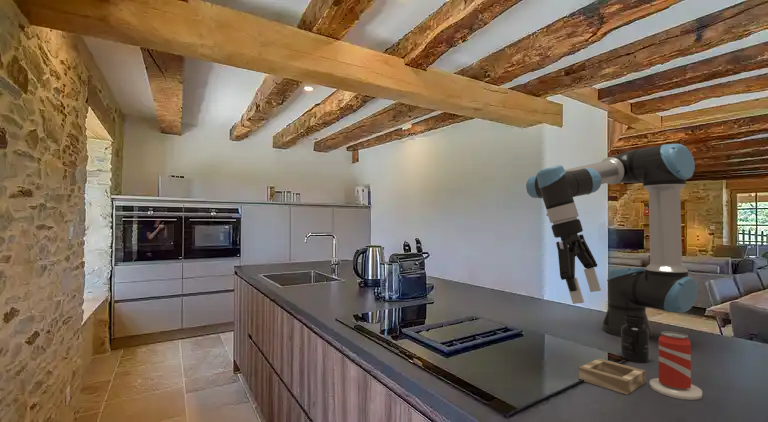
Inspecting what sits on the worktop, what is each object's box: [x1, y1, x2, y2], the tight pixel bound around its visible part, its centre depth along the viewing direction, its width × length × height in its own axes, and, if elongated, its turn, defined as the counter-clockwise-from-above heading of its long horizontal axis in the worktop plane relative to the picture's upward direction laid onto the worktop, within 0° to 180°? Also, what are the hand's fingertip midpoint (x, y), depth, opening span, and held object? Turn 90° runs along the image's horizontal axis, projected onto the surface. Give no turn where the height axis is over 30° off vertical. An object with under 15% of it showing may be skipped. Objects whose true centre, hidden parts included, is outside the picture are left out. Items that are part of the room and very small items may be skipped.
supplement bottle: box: [620, 315, 650, 363], centre depth 117 cm, size 7×7×12 cm
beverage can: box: [658, 331, 692, 390], centre depth 95 cm, size 6×6×12 cm
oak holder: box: [578, 358, 646, 395], centre depth 100 cm, size 11×11×3 cm
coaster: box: [649, 377, 703, 401], centre depth 95 cm, size 10×10×1 cm
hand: (587, 297), depth 110 cm, fingers open, 13 cm apart
